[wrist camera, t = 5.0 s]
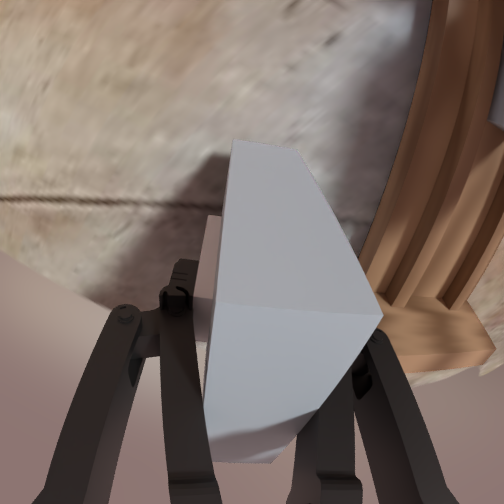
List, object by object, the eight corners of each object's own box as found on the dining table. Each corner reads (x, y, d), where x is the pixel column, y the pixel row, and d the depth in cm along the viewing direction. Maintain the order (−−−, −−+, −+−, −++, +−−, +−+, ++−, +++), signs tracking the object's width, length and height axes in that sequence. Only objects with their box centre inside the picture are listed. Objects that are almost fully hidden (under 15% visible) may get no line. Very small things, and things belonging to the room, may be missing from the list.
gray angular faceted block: (211, 293, 22) (198, 460, 12) (233, 138, 15) (215, 302, 6) (260, 298, 22) (271, 463, 12) (297, 149, 16) (383, 315, 6)
